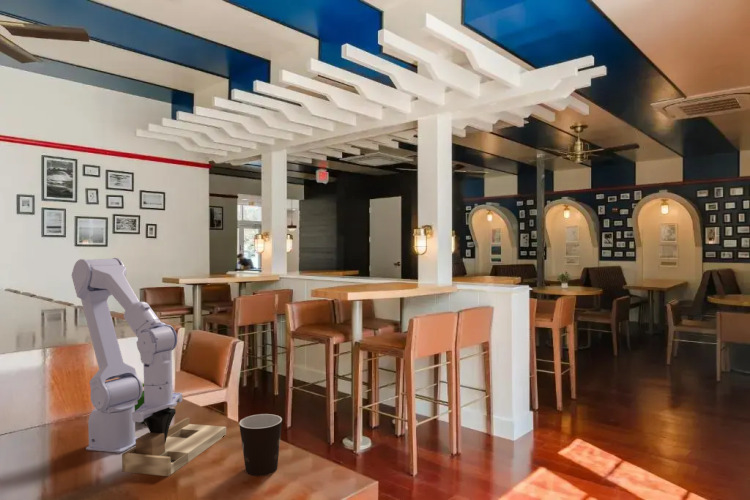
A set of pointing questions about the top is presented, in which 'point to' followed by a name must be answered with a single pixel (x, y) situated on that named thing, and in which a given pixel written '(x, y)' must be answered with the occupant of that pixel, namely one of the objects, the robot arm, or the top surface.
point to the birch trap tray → (174, 449)
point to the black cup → (261, 443)
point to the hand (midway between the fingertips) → (159, 444)
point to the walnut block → (151, 444)
